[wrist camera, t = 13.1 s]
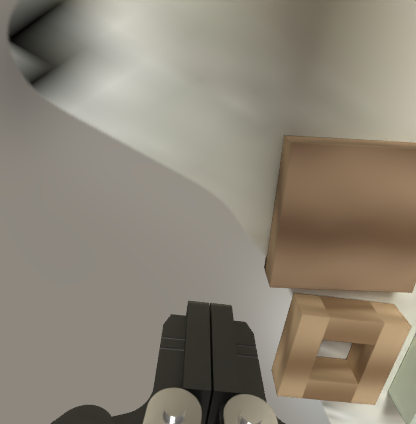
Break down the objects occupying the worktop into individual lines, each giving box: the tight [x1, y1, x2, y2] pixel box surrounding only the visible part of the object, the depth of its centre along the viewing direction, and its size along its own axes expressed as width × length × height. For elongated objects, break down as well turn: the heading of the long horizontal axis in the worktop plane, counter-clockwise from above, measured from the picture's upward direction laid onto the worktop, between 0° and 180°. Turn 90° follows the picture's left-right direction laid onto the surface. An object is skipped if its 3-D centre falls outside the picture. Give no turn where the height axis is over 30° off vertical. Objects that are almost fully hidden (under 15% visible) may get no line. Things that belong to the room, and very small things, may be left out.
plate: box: [264, 135, 416, 293], centre depth 24 cm, size 10×10×2 cm
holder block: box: [272, 293, 412, 405], centre depth 27 cm, size 8×8×2 cm
